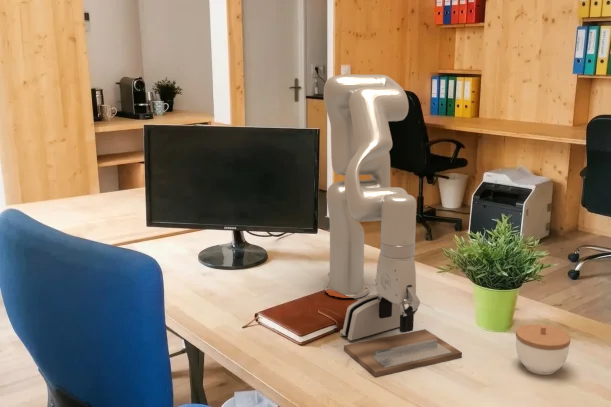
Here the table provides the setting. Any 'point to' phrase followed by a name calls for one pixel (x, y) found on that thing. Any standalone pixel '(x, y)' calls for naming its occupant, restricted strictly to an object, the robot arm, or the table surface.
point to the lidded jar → (542, 348)
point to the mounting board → (367, 348)
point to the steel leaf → (409, 353)
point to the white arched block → (368, 318)
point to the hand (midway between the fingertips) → (395, 323)
